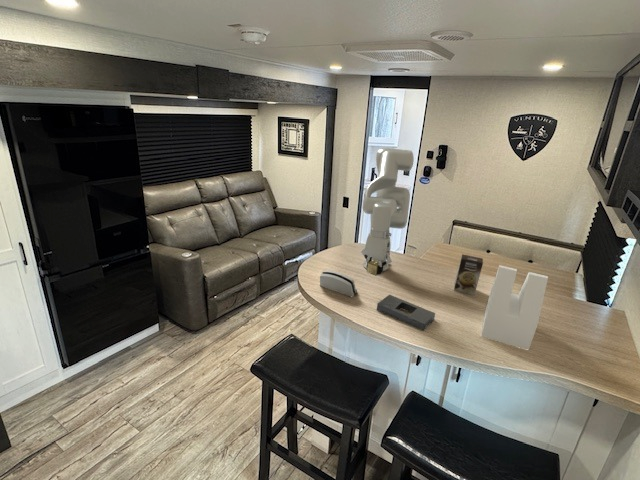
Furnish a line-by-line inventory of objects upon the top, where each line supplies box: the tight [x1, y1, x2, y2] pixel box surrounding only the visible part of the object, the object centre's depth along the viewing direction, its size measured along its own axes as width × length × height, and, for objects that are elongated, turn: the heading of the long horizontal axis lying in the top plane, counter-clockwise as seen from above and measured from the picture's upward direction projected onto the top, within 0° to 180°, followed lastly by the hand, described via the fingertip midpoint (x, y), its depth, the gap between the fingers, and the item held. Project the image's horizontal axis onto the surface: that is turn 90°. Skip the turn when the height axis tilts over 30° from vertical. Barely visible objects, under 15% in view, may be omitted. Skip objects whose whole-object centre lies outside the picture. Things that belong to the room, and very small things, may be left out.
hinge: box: [319, 269, 358, 298], centre depth 153 cm, size 17×5×10 cm, turn 59°
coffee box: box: [453, 253, 484, 296], centre depth 159 cm, size 9×6×16 cm
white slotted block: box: [480, 264, 549, 350], centre depth 129 cm, size 19×15×25 cm
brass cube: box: [366, 259, 379, 276], centre depth 151 cm, size 4×4×4 cm
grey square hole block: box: [376, 294, 436, 332], centre depth 139 cm, size 10×20×3 cm, turn 51°
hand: (374, 271), depth 151 cm, fingers closed on brass cube, 4 cm apart
